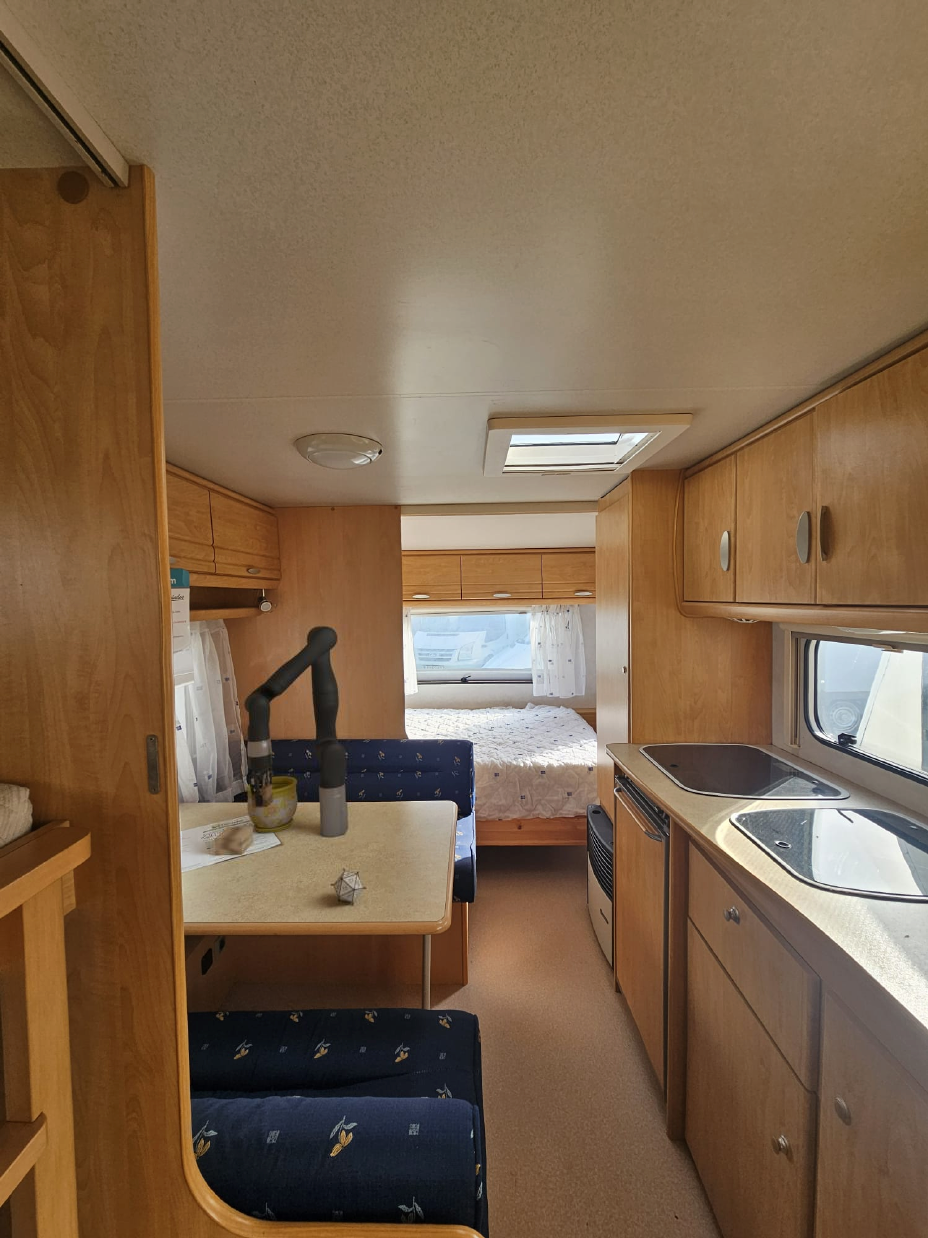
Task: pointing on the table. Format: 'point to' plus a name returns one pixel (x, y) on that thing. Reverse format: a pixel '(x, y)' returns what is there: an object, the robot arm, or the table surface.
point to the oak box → (234, 841)
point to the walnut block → (264, 796)
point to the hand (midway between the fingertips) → (262, 802)
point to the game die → (348, 886)
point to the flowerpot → (275, 806)
